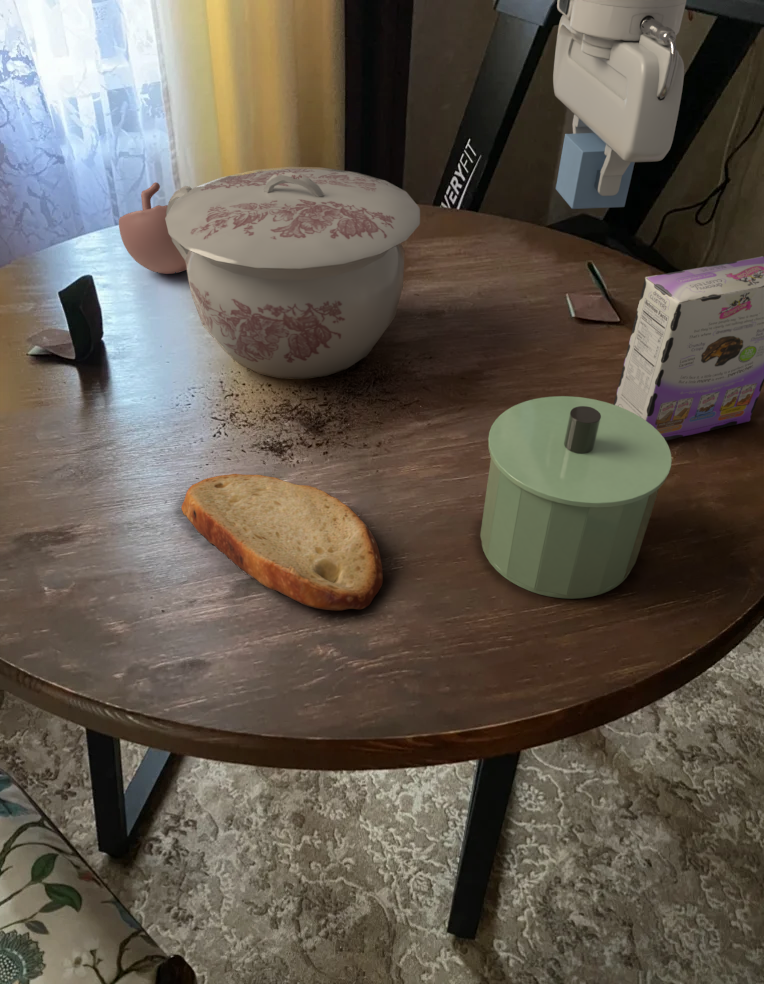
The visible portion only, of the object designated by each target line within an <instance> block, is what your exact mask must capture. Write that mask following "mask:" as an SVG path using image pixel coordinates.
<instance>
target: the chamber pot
mask: <svg viewBox="0 0 764 984" xmlns="http://www.w3.org/2000/svg"><path fill="white" fill-rule="evenodd" d="M167 205H168V207H167V211H166V218H165V220H166V224H167V229H168V233H169V235H170V236H171V239H172V242H173V243H174V245H175V246H176V248H177V249H178V251H179V252H180V254H181V255H182V257H183V258H184V260H185V262H186V275H187V282H188V286H189V289H190V294H191V297H192V300H193V303H194V306H195V309H196V311H197V315H198V317H199V320H200V322H201V325H202V327H203V328H204V329H205V330H206V331H207V332H208V334H209V335H210V336H211V337H212V338H213V340H214V341H215V342H216V343H217V344H218V345H219V346H220V347H221V349H222V350H223V351H224V352H225V353H226V354H227V355H228V356H229V357H230V358H231V359H232V360H233V361H234V362H235V363H237V364H238V365H240V366H242V367H244V368H245V369H248V370H250V371H252V372H254V373H256V374H259V375H264V376H266V377H273V378H278V379H289V380H290V379H291V380H292V379H293V380H305V379H306V380H307V379H308V380H309V379H314V378H320V377H321V378H322V377H328V376H331V375H333V374H337V373H339V372H342V371H346V370H348V369H349V368H351V367H353V366H355V365H356V364H357V363H359V362H360V361H362V360H363V359H365V358H366V357H367V356H368V355H369V354H370V352H371V351H372V349H374V347H375V346H376V344H377V343H378V341H380V339H381V337H382V336H383V335H384V333H385V332H386V330H387V329H388V327H389V326H390V325H391V324H392V322H393V321H394V319H395V318H396V316H397V312H398V309H399V304H400V300H401V297H402V293H403V290H404V289H403V288H404V276H405V274H404V273H405V252H406V251H405V249H404V247H403V245H402V244H403V243H404V242H406V241H407V240H408V239H409V238H410V236H411V235H412V234H413V233H414V232H415V231H416V230H417V228H418V227H419V226H420V225H421V208H420V206H419V205H418V204H417V203H416V202H415V201H414V199H413V198H412V197H411V195H410V194H409V193H408V192H407V191H406V190H404V189H402V188H400V187H398V186H396V185H395V184H393V183H391V182H389V181H388V180H385V179H382V178H377V177H374V176H371V175H368V174H365V173H361V172H357V171H350V170H343V169H335V168H328V167H319V166H317V167H315V166H283V167H271V168H262V169H254V170H248V171H245V172H239V173H234V174H229V175H225V176H221V177H218V178H216V179H213V180H211V181H207V182H205V183H201V184H200V185H197V186H195V187H193V188H192V187H191V186H190V185H189V186H188V185H184V186H183V187H180V188H178V190H176V191H174V193H173V194H172V196H171V197H170V199H169V201H168V203H167Z"/></svg>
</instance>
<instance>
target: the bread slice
mask: <svg viewBox="0 0 764 984" xmlns="http://www.w3.org/2000/svg"><path fill="white" fill-rule="evenodd" d="M183 499H184V500H183V502H182V504H181V511H182V515H184V517H186V518H187V520H188V521H189V522H190V524H191V525H192V526H193V527H194V528H195V530H196V531H197V533H198V534H200V535H202V536H203V537H204V538H205V540H206V541H207V542H208V543H209V544H211V545H214V546H215V548H217V550H218V551H219V552H221V553H222V554H224V555H225V556H226V557H227V558H228V559H229V560H230V561H231V562H232V563H234V564H235V565H236V566H237V567H238V568H240V569H241V570H242V571H244V572H245V573H246V574H247V575H248V576H251V578H253V579H255V580H256V581H257V582H258V583H260V585H262V586H264V587H266V588H268V589H269V590H273V591H276V592H279V593H280V594H282V595H284V596H286V597H288V598H289V599H292V600H294V601H296V602H297V603H300V604H302V605H303V606H304V605H305V606H307V607H311V608H314V609H318V610H327V611H345V610H346V611H347V610H363V609H365V608H367V607H369V606H370V605H371V603H372V601H373V600H374V599H375V597H376V596H377V594H378V593H379V591H380V589H381V588H382V585H383V582H384V573H383V564H382V559H381V555H380V551H379V547H378V543H377V541H376V538H375V537H374V535H373V534H372V531H371V530H370V529H369V528H368V526H367V525H366V523H365V522H364V521H363V520H362V519H361V518H360V517H359V516H358V514H357V513H356V512H355V511H354V510H352V509H351V508H350V507H349V506H348V505H347V504H345V503H344V502H342V501H341V500H340V499H339V498H337V497H335V496H332V495H331V494H330V493H328V492H326V491H324V490H321V489H318V487H314V486H311V485H305V484H296V483H293V482H290V481H285V480H282V479H280V478H279V477H274V476H267V475H262V474H244V473H243V474H242V473H231V474H222V475H221V474H220V475H217V476H212V477H207V478H204V479H202V480H200V481H198V482H196V483H193V484H192V485H191V486H190V487H189V488H188V489H187V491H186V492H185V496H184V498H183Z"/></svg>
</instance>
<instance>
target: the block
mask: <svg viewBox="0 0 764 984" xmlns="http://www.w3.org/2000/svg"><path fill="white" fill-rule="evenodd" d="M605 147H606V143H605V142H604V141H603V140H602V139H600V138H599V137H598V136H597V135H596V134H595V133H578V134H573V133H565V134H564V138H563V145H562V150H561V154H560V155H561V156H560V160H559V168H558V174H557V179H556V184H555V190H556V191H557V193H558V194H559V195H560V197H562V199H563V200H564V201H565V202H566V204H567V205H568V206H569V207H570V209H572V210H578V209H582V210H583V209H605V208H607V209H608V208H625V206H626V202H627V197H628V193H629V190H630V189H629V188H630V185H631V180H632V176H633V171H634V166H635V163H636V162H631V163H630V164H629V166H628V168H627V169H626V171H625V172H624V174H623V175H622V178H621V183H620V187H619V191H618V193H617V194H616V195H613V196H602V195H600V194H599V193H598V192H597V190H596V189H595V187H594V184H595V181H596V174H597V170H601V169H602V167H603V164H604V161H605V159H606V155H605V153H604V152H605Z"/></svg>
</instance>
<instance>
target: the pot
mask: <svg viewBox="0 0 764 984" xmlns="http://www.w3.org/2000/svg"><path fill="white" fill-rule="evenodd" d="M659 490H660V488H659V489H658V490H657V491H655V492H654V493H652V494H651V495H649V496H647V497H645V498H644V499H641V500H639V501H636V502H633V503H630V504H625V505H621V506H614V507H600V508H593V507H579V506H571V505H566V504H561V503H557V502H554V501H550V500H547V499H544V498H541V497H539V496H536V495H534V494H532V493H530V492H528V491H526V490H524V489H522V488H521V487H519V486H517V485H516V484H514V483H513V482H512V481H510V480H509V479H508V478H506V477H505V476H504V475H503V474H502V473H501V472H500V470H499V469H498V468H497V467H496V465H495V464H494V462H493V460H492V458H491V457H490V462H489V469H488V477H487V484H486V491H485V499H484V505H483V513H482V519H481V520H482V521H481V528H480V534H479V537H480V541H481V542H480V544H481V548H482V551H483V552H484V556H485V557H486V559H487V560H488V562H489V564H490V565H491V566H492V567H493V568H494V570H495V571H496V572H497V573H499V574H500V575H501V577H503V578H504V579H506V580H507V581H509V582H510V583H512V584H514V585H516V586H518V587H520V588H521V589H524V590H526V591H529V592H531V593H534V594H537V595H539V596H540V595H541V596H545V597H549V598H550V597H551V598H556V599H569V600H570V599H571V600H574V599H585V598H586V599H587V598H592V597H595V596H599V595H603V594H606V593H607V592H610V591H612V590H614V589H615V588H617V587H618V586H619V585H621V584H622V583H623V582H624V581H625V580H626V579H627V578H628V577H629V575H630V573H631V572H632V570H633V568H634V566H635V564H636V562H637V560H638V557H639V553H640V550H641V547H642V543H643V540H644V537H645V534H646V531H647V528H648V525H649V522H650V518H651V515H652V512H653V509H654V505H655V502H656V500H657V496H658V494H659Z"/></svg>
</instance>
